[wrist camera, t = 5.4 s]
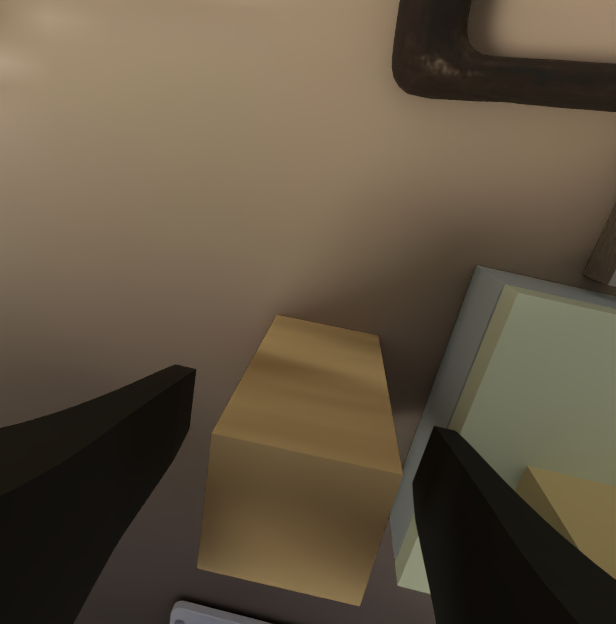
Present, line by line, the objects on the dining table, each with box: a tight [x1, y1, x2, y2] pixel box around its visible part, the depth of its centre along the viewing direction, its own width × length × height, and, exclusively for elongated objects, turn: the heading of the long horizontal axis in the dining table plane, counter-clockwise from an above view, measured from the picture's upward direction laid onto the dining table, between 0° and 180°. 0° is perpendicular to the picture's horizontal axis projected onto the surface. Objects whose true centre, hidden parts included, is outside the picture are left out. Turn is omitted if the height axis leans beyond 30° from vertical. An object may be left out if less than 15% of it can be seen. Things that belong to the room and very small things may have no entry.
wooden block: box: [197, 315, 403, 606], centre depth 10 cm, size 4×4×6 cm
